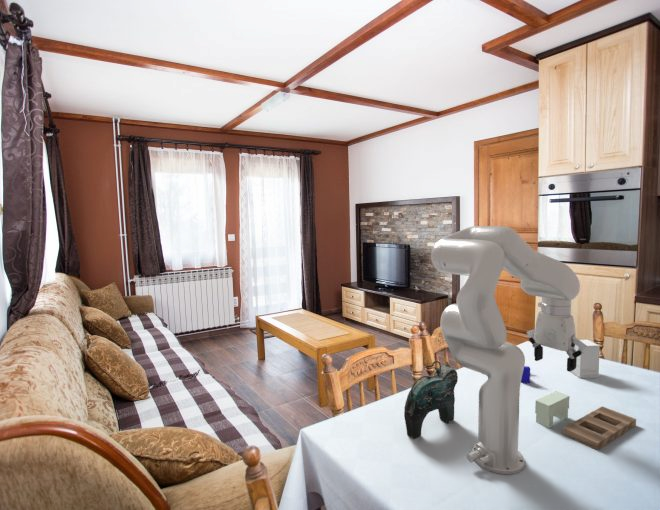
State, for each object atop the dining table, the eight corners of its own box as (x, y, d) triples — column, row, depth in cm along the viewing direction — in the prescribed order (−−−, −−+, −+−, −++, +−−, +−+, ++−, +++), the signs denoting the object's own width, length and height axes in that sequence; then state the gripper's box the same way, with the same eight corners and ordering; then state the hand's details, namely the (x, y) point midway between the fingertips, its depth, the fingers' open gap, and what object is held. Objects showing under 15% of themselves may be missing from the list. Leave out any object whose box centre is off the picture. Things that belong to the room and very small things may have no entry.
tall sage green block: (548, 428, 114) (548, 405, 113) (535, 422, 117) (535, 400, 117) (568, 417, 119) (569, 395, 119) (555, 412, 123) (556, 390, 122)
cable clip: (508, 370, 156) (508, 355, 155) (520, 370, 155) (520, 356, 154) (516, 382, 144) (517, 367, 144) (529, 383, 143) (530, 368, 143)
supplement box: (599, 378, 146) (600, 345, 145) (579, 378, 146) (580, 346, 145) (586, 370, 153) (587, 339, 152) (567, 370, 153) (568, 339, 152)
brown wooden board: (597, 450, 103) (597, 443, 103) (562, 434, 111) (563, 427, 110) (635, 425, 114) (636, 419, 114) (601, 412, 122) (602, 406, 121)
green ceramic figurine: (446, 412, 124) (446, 352, 122) (462, 421, 119) (463, 358, 117) (400, 433, 114) (400, 368, 111) (417, 444, 108) (416, 375, 106)
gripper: (521, 305, 120) (520, 358, 122) (580, 318, 105) (577, 378, 107) (535, 302, 124) (534, 353, 126) (594, 313, 109) (592, 371, 111)
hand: (554, 364), depth 117 cm, fingers open, 9 cm apart
